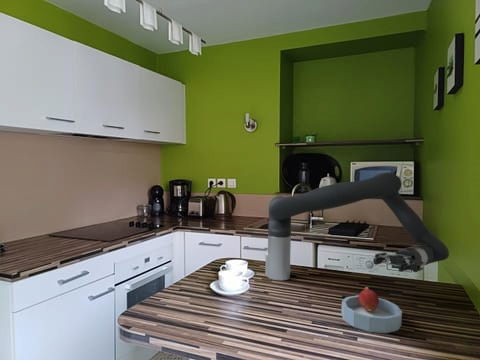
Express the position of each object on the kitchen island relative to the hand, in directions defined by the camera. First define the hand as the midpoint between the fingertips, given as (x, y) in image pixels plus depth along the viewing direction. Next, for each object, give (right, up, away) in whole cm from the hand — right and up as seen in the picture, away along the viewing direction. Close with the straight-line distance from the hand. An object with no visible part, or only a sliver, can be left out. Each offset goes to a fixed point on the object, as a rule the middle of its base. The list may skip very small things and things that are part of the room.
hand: (386, 264), depth 106 cm
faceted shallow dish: (-9, -14, -9) cm, 19 cm away
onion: (-9, -12, -9) cm, 17 cm away
